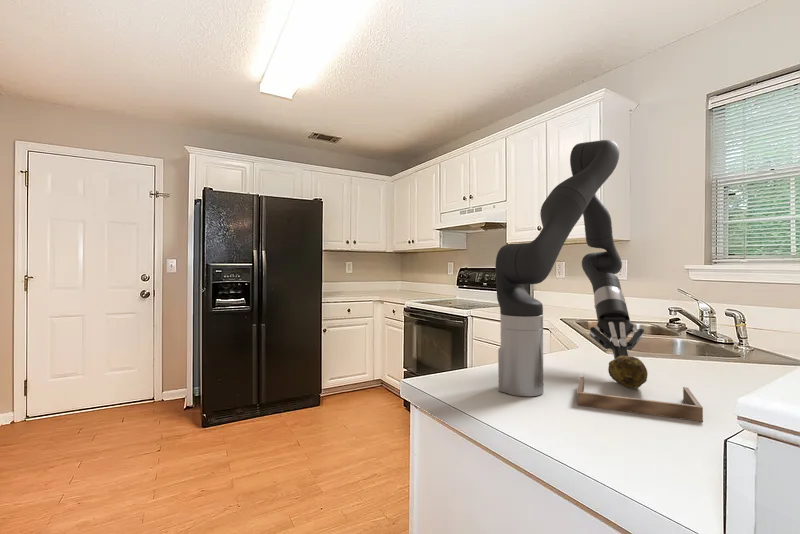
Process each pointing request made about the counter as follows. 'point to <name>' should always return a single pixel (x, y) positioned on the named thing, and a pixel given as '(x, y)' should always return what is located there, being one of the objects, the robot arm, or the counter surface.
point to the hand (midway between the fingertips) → (622, 362)
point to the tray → (643, 404)
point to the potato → (628, 371)
